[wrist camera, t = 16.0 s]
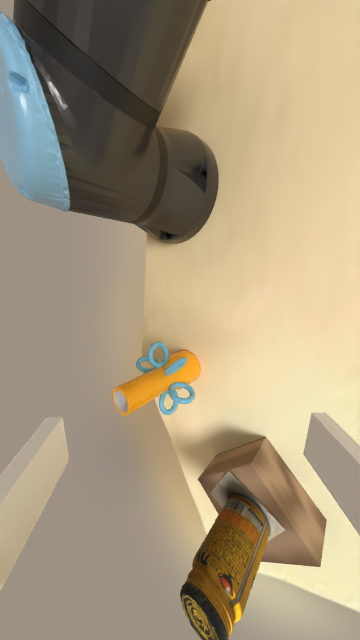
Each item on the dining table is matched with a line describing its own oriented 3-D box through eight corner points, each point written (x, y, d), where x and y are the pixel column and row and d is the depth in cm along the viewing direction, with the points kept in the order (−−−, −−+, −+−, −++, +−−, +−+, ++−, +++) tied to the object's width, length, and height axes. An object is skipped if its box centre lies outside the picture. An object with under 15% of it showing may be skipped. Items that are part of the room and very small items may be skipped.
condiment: (257, 548, 29) (212, 670, 20) (210, 492, 33) (155, 573, 24) (286, 528, 26) (246, 664, 17) (229, 468, 30) (174, 553, 21)
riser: (216, 455, 39) (197, 478, 35) (265, 437, 32) (250, 463, 28) (259, 523, 36) (245, 560, 31) (326, 520, 28) (320, 567, 24)
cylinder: (218, 399, 37) (155, 455, 25) (175, 393, 44) (111, 435, 32) (203, 331, 36) (133, 357, 25) (162, 335, 43) (92, 358, 32)
